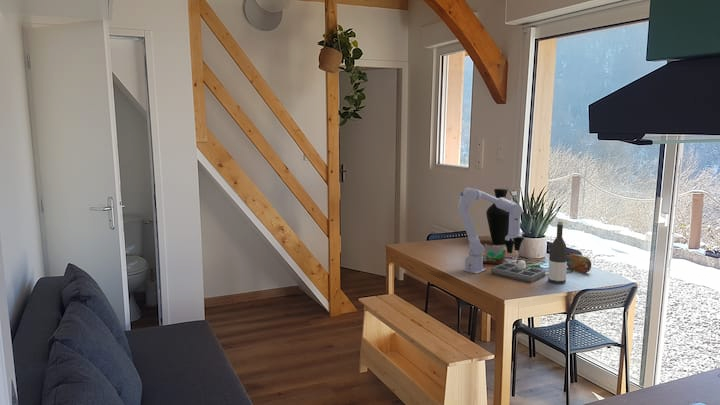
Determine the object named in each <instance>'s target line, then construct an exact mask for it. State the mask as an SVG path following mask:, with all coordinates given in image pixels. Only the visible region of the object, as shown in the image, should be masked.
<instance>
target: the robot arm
mask: <svg viewBox="0 0 720 405" xmlns="http://www.w3.org/2000/svg"><path fill="white" fill-rule="evenodd" d="M476 200H477V201H478V200H479V201H480V200H484V201H487V202H490V203H492V204H493V203H494V204H495V205H496V207H497V208H500V209H502V210H505V211H507V212H510V213H509V232H508V235H507V236H505V239H504V242H505V245H504V246H506V248H507V250H506V252H507V253H508V254H512V253H513V248H514V251H518V252H519V250H520V249H521V244H522V243H523V241H524V240H525V237H523V232H521V219H522V218H521V215H522V213H523V211H524V210H523V208H522V205H520V204H518V203H516V202H515V201H514V200H508V199H507V197H506V198H505V197H503V198H502V197H500V198H496V196H493V195H491V194H488V193H487V192H485V191H482V190H480V189H476V188H472V187H469V186H467V187H465V188H463V189H462V191H461V192H460V194H459V200H458V204H457V208H458V212H459V214H460V217H461V220H462V224H463V227H464V230H465V233H466V236H467V240H468V249H469V251H468V255H467V257H465V262H464V265H465V266H464V269H463V272H467V273H471V274H476V275H477V274H479V273H481V272H484V271H487V269H486V268H483V266H484V265H483V263H484V251H485V246H484V245H483V244H482V243H481V240H480V238H479V236H478V234H477V230H476V227H475V225H474V222H473V219H472V216H471V213H470V210H469V209H470V208H469V207H470V206H471V205H472V203H473V202H475V201H476Z"/></svg>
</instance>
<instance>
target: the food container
mask: <svg viewBox="0 0 720 405" xmlns="http://www.w3.org/2000/svg"><path fill="white" fill-rule="evenodd" d="M484 250H485V256H486V257H485V258H486V263H487V262H488V263H487V264H490V263H491V264H490V265H500V264H499V263H501V262H503V261H504V262H505V259H506V252H507V248H506V245H503V246H501V245H489V244H485V245H484Z"/></svg>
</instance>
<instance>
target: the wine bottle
mask: <svg viewBox="0 0 720 405" xmlns="http://www.w3.org/2000/svg"><path fill="white" fill-rule="evenodd" d="M556 226H557V227H556V237H555V239H554V240H553V242H552V244H551V246H550V248H549V257H548V259H549V260H548V272H547V274H548V276H547V281H548V282H549V283H551V284H556V285H561V284H562V285H564V284H565V283H566V280H567V268H568V266H567V256H568V248H567V245H566V242H565V240H564V238H563V231H564V230H563V229H564V224H563V221H561V220H559V221H558V220H557V224H556Z"/></svg>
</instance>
